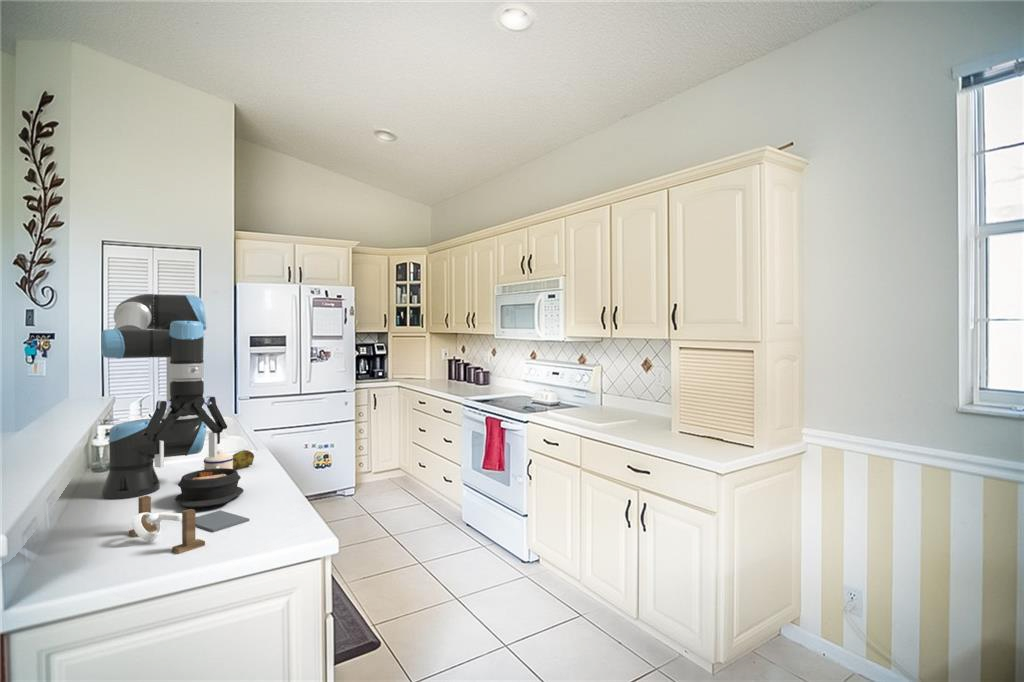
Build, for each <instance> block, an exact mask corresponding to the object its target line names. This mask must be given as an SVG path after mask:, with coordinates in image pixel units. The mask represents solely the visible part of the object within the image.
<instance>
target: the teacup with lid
mask: <svg viewBox="0 0 1024 682" xmlns="http://www.w3.org/2000/svg"><path fill="white" fill-rule="evenodd" d="M233 459H234V458H233V454H227V453H225V452H223V450H222V449H217V457H215V458H214V457H209V456H207V457H205V458H204V459H203V463H204V464H203V466H204V467H203V470H206V469H216V468H228V469H233Z"/></svg>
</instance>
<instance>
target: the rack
mask: <svg viewBox="0 0 1024 682" xmlns="http://www.w3.org/2000/svg"><path fill="white" fill-rule="evenodd" d="M145 512H149V513H152V497H151V496H149V495H145V496H141V497H138V514H140V513H145ZM181 514H182V520H181V524H182V525H181V528H182V529H181V542H182V543H179V544H177V545H174V546H171V551H172V553H176V554H179V555H180V554H184V553H186V552H188V551H192V550H195V549H198V548H200V547H204V546H206V541H205V540H203V539H200V538H196V526H195V517H196V510H195V509H193V508H190V509H189V508H188V509H185V510H182V511H181ZM146 518H148V516H145V515H143V516H142V518H141V523H142V525H143V527H144V528H145V530H146V531H148V532H149V533H153V532H156V531H157V527H156V524H153V523H150V524H149V523H147V521H146ZM128 535H129V536H132V537H137V536H138V535H137V534H136V532H135V531H134V529H133V528H132V529H130V530H129V529H128ZM138 537H139V536H138Z"/></svg>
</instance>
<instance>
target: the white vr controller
mask: <svg viewBox="0 0 1024 682" xmlns="http://www.w3.org/2000/svg"><path fill="white" fill-rule="evenodd" d="M143 515H145V516H148V518H146V521H147V523H149V524H150V523H151V524H156V527H157V530H156V531H157V532H155V533H153V532H148V531H146V530H145V528H144V527H143V525H142V523H141V518H142V516H143ZM163 520H164V521H165V520H166V521H182V512H181V513H180V512H179V513H178V512H166V511H159V512H156V513H152V512H151V513H149V512H145V513H140V514H139V513H137V514H136V515H134V516H133V518H132V523H131V524H132V530H133V529H134V531H135V532H136V534H137V535H138V537H139V538H140V539H142V540H144V541H147V542H152V541H154V540H156V539H157V538H158V537H159V536H160V534H161V532H162V528H163V526H162V523H161V522H162V521H163Z"/></svg>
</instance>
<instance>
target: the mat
mask: <svg viewBox="0 0 1024 682" xmlns="http://www.w3.org/2000/svg"><path fill="white" fill-rule="evenodd" d="M249 521H250V518H249V517H246V516H245V517H244V516H241V515H239V514H234V513H231V512H228V511H225V510H221V509H220V510H216V511H212V512H210V513H206V514H202V515H199V516H195V528H196V527H197V528H198V529H199V528H200V529H203V530H206V531H209V532H211V533H215V532H218V531H222V530H224V529H227V528H231V527H234V526H237V525H241V524H244V523H246V522H249Z"/></svg>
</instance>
